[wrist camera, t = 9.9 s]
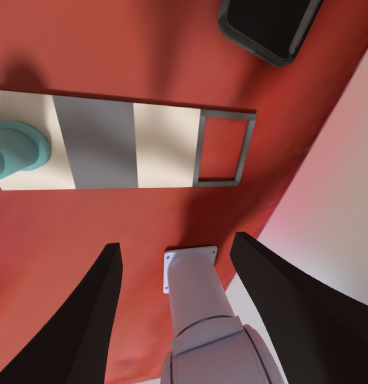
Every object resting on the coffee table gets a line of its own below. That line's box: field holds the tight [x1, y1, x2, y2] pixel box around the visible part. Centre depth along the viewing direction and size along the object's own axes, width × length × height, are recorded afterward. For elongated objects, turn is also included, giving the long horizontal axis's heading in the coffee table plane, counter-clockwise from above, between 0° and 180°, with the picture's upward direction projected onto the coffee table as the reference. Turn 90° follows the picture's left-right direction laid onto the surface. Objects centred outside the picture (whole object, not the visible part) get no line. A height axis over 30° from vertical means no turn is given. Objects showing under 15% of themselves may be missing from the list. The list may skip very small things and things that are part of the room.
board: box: [0, 90, 257, 190], centre depth 15 cm, size 8×24×1 cm, turn 86°
